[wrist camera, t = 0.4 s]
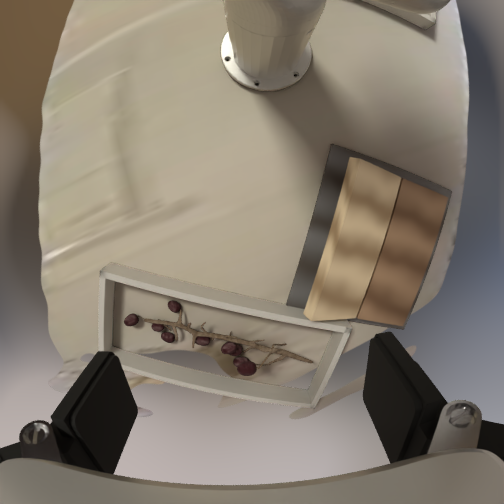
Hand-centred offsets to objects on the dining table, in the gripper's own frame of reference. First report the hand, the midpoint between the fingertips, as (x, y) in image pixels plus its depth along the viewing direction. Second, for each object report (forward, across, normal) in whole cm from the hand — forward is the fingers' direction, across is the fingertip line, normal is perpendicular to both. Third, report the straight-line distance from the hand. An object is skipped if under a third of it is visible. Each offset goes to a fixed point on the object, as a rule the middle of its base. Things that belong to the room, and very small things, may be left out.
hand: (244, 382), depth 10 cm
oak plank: (+31, -14, +3) cm, 34 cm away
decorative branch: (+34, +6, +18) cm, 39 cm away
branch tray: (+34, +7, +18) cm, 39 cm away
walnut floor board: (+34, -19, +5) cm, 39 cm away
